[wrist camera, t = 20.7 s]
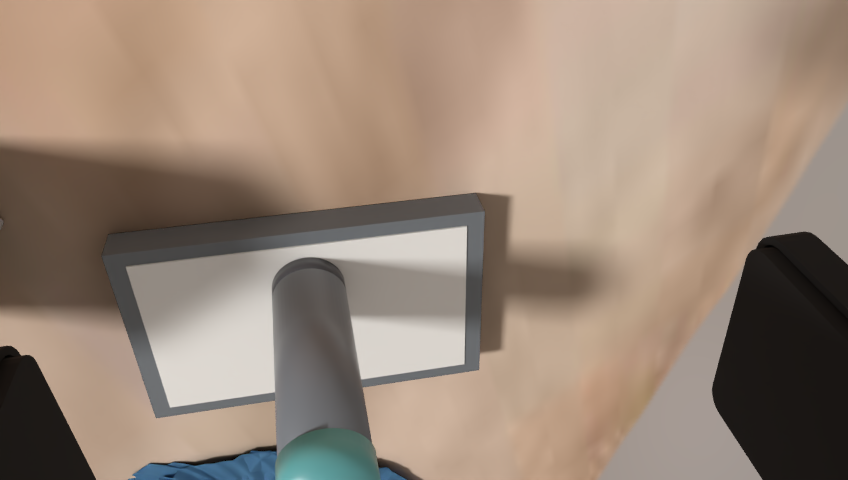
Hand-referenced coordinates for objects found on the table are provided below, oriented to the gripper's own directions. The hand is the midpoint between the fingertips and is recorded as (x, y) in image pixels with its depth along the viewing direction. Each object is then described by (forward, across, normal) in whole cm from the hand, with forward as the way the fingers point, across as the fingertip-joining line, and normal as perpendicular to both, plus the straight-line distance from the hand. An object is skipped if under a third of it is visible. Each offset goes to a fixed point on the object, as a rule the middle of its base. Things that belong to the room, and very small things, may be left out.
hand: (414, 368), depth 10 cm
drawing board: (+27, +3, +20) cm, 34 cm away
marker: (+25, +3, +18) cm, 30 cm away
